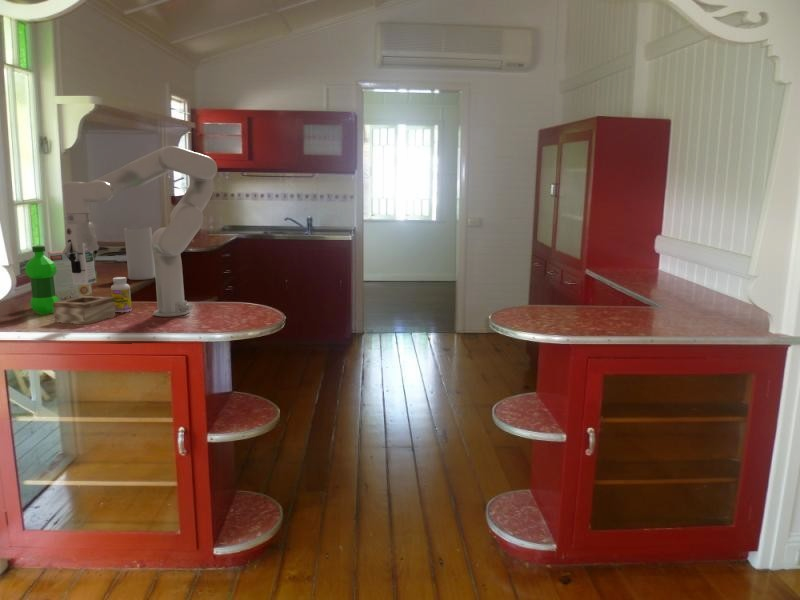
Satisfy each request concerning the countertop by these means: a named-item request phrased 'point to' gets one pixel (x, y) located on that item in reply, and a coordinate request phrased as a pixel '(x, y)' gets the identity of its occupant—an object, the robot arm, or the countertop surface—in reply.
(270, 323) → the countertop surface
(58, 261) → the cracker box
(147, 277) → the cylinder vase
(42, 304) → the plastic bottle
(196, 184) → the robot arm
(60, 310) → the wooden box
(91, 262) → the syrup box
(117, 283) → the supplement bottle
